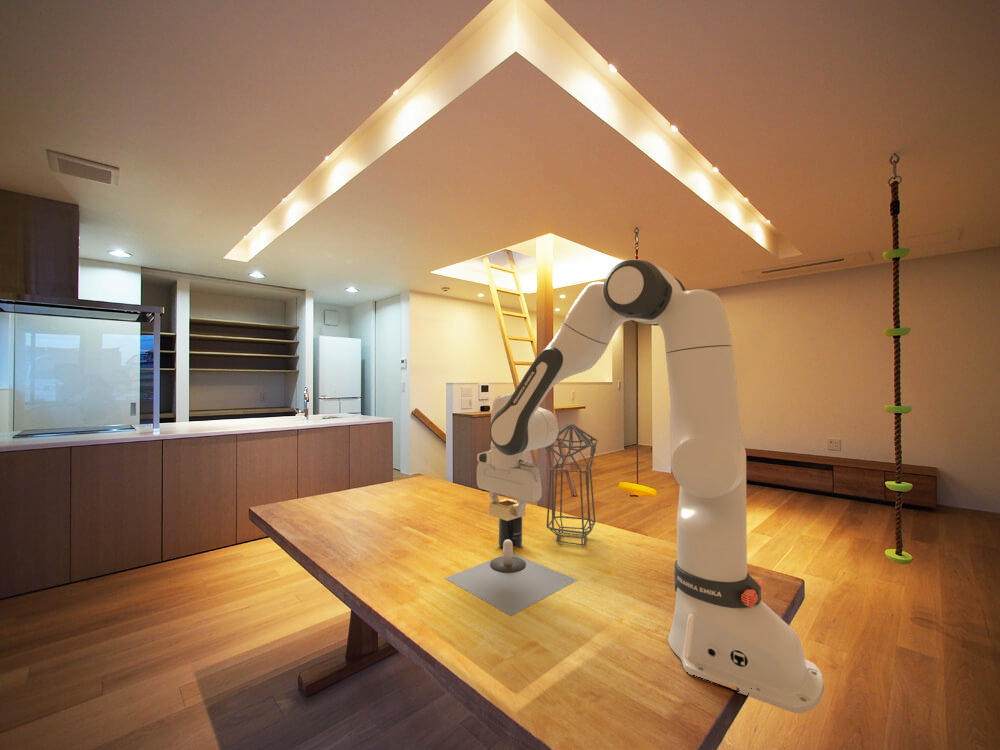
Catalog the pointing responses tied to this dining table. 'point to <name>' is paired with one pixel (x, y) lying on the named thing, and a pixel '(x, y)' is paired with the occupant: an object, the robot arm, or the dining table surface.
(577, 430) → the geometric lantern
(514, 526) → the supplement bottle
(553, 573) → the post board
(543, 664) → the dining table surface
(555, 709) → the dining table surface
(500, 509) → the wooden collar
